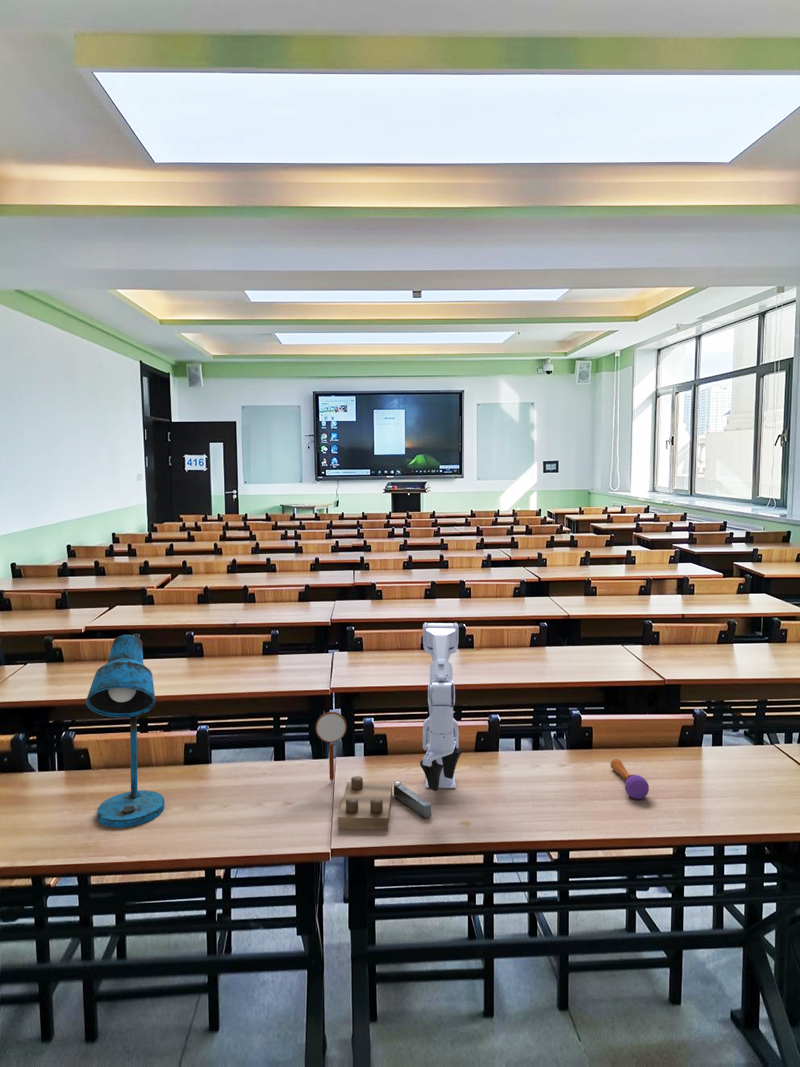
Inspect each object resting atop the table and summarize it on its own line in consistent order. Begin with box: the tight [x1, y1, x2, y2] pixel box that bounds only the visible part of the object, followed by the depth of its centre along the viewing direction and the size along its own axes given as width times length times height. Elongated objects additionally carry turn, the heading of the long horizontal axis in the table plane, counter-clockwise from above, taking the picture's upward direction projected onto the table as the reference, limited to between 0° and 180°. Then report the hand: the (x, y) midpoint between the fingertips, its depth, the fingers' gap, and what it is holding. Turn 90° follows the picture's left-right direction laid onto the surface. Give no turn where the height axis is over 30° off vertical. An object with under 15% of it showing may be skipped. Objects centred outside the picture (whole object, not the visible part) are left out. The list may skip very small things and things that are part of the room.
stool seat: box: [337, 776, 393, 831], centre depth 176 cm, size 19×12×6 cm, turn 178°
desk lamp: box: [85, 634, 166, 829], centre depth 172 cm, size 16×22×45 cm
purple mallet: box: [609, 758, 650, 800], centre depth 190 cm, size 6×6×20 cm
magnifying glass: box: [314, 711, 348, 783], centre depth 191 cm, size 9×2×20 cm, turn 96°
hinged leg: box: [393, 780, 432, 819], centre depth 178 cm, size 15×2×4 cm, turn 33°
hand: (441, 783), depth 172 cm, fingers open, 7 cm apart
